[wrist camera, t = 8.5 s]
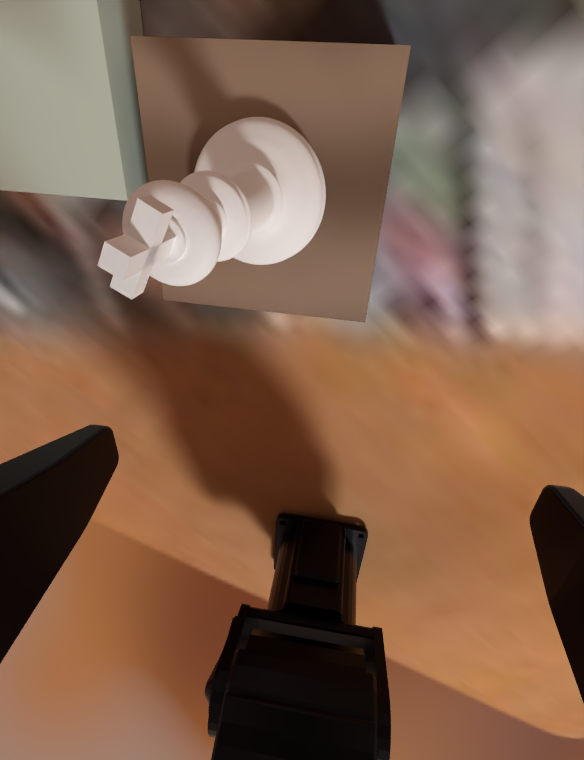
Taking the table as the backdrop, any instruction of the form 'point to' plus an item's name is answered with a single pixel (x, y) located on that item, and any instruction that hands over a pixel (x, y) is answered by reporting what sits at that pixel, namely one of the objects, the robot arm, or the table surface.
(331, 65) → the walnut slab
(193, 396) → the table surface
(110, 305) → the table surface
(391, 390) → the table surface
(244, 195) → the chess piece
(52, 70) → the sage slab
